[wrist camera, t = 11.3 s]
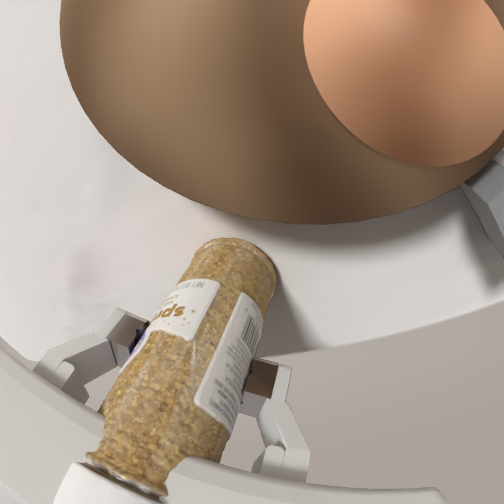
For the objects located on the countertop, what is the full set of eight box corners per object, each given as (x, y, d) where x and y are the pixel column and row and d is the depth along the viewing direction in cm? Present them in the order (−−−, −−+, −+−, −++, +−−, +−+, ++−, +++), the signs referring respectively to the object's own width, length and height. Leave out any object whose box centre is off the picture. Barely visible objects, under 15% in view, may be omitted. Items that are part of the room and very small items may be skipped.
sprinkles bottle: (200, 222, 14) (14, 488, 3) (291, 252, 14) (192, 581, 3) (190, 290, 17) (68, 506, 6) (265, 316, 17) (184, 559, 6)
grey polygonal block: (510, 219, 10) (546, 259, 7) (488, 238, 11) (520, 282, 8) (475, 149, 9) (518, 176, 6) (450, 171, 10) (487, 203, 7)
